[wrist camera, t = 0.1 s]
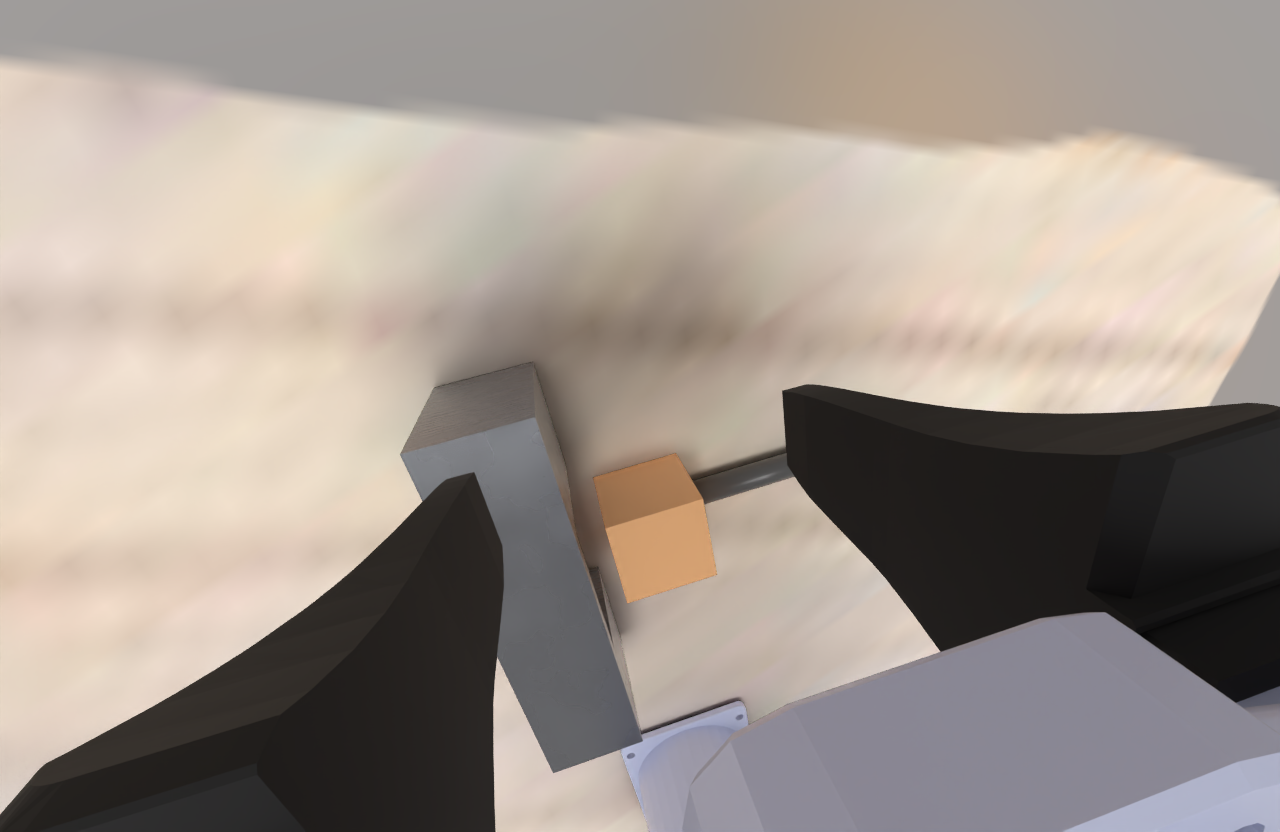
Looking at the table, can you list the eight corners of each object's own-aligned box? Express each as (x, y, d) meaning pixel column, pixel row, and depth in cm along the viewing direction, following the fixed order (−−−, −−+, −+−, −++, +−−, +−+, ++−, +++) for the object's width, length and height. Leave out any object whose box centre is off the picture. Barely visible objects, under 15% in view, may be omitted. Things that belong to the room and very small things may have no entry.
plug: (871, 465, 26) (926, 507, 22) (612, 544, 24) (627, 603, 21) (870, 396, 24) (930, 429, 21) (592, 477, 23) (605, 528, 19)
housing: (620, 636, 27) (642, 741, 22) (548, 660, 26) (553, 773, 21) (533, 361, 20) (534, 417, 15) (434, 387, 20) (400, 454, 14)
